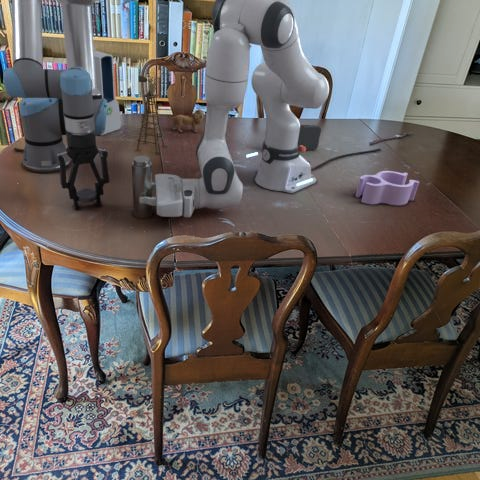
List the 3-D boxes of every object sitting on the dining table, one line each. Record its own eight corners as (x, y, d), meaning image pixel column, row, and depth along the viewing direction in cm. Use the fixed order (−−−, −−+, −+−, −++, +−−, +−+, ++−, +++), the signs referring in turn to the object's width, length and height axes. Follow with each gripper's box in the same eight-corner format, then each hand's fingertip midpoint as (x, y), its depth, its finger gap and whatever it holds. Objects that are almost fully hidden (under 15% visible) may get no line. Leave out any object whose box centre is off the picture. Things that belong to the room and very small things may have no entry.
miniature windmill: (157, 154, 175) (156, 71, 159) (135, 150, 176) (133, 68, 160) (165, 145, 182) (165, 66, 166) (144, 142, 183) (143, 62, 167)
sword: (408, 132, 223) (408, 130, 222) (413, 134, 221) (414, 132, 220) (365, 144, 207) (365, 141, 206) (370, 146, 205) (370, 144, 204)
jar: (155, 215, 138) (155, 160, 128) (139, 220, 135) (137, 164, 125) (146, 207, 141) (145, 153, 132) (130, 211, 138) (128, 157, 129)
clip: (368, 208, 154) (373, 189, 150) (349, 190, 163) (353, 172, 160) (418, 203, 160) (424, 185, 156) (397, 187, 170) (402, 169, 166)
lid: (80, 192, 140) (80, 188, 139) (99, 195, 139) (99, 190, 139) (73, 201, 135) (72, 196, 134) (93, 204, 135) (92, 199, 134)
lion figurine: (201, 127, 203) (202, 107, 198) (204, 132, 199) (205, 111, 194) (168, 129, 198) (168, 108, 193) (170, 133, 194) (171, 112, 189)
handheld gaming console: (315, 147, 196) (319, 124, 190) (317, 149, 194) (322, 126, 188) (264, 149, 189) (267, 125, 183) (266, 152, 187) (269, 127, 181)
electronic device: (99, 136, 184) (93, 56, 168) (85, 131, 187) (78, 52, 171) (121, 128, 194) (118, 52, 177) (108, 124, 197) (103, 48, 180)
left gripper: (45, 138, 119) (56, 216, 132) (118, 132, 127) (122, 207, 140) (41, 128, 125) (52, 204, 137) (111, 123, 133) (115, 196, 145)
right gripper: (184, 168, 144) (138, 168, 141) (191, 200, 127) (139, 200, 124) (184, 187, 147) (139, 187, 144) (190, 220, 130) (139, 221, 127)
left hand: (87, 205), depth 139 cm, fingers closed on lid, 6 cm apart
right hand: (139, 193), depth 134 cm, fingers closed on jar, 5 cm apart
